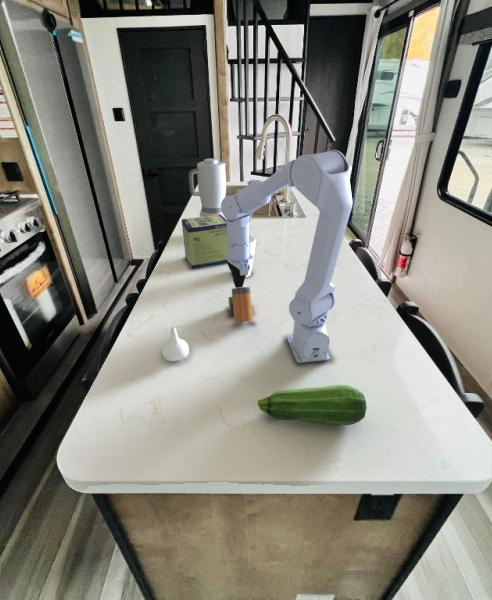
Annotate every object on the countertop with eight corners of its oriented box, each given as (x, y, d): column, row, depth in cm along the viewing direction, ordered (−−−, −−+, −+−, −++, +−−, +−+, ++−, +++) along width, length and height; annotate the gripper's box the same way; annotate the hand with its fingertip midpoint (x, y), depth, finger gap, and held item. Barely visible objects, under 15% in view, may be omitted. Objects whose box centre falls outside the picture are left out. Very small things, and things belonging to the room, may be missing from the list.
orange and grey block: (231, 312, 92) (230, 281, 87) (248, 310, 93) (248, 279, 88) (235, 330, 85) (235, 297, 79) (254, 329, 85) (254, 296, 80)
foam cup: (223, 276, 111) (221, 241, 104) (235, 265, 118) (235, 232, 111) (247, 282, 107) (248, 246, 100) (259, 271, 114) (260, 236, 107)
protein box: (231, 262, 120) (230, 222, 112) (191, 269, 115) (187, 228, 107) (222, 251, 128) (221, 213, 120) (184, 258, 123) (180, 218, 115)
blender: (222, 230, 149) (219, 156, 132) (233, 239, 139) (231, 160, 122) (190, 236, 143) (182, 159, 126) (198, 245, 134) (192, 163, 117)
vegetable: (372, 395, 55) (257, 388, 57) (369, 434, 56) (256, 427, 58) (360, 380, 63) (258, 375, 65) (358, 415, 63) (257, 409, 65)
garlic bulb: (163, 366, 74) (158, 339, 69) (162, 349, 79) (157, 323, 75) (191, 361, 75) (187, 334, 71) (187, 344, 80) (184, 318, 76)
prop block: (229, 308, 94) (228, 297, 92) (249, 306, 95) (249, 295, 92) (230, 316, 90) (230, 304, 88) (251, 314, 91) (251, 302, 89)
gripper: (260, 250, 78) (259, 297, 86) (246, 230, 90) (246, 273, 98) (232, 253, 77) (233, 300, 84) (221, 232, 89) (223, 275, 96)
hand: (238, 286), depth 91 cm, fingers closed
